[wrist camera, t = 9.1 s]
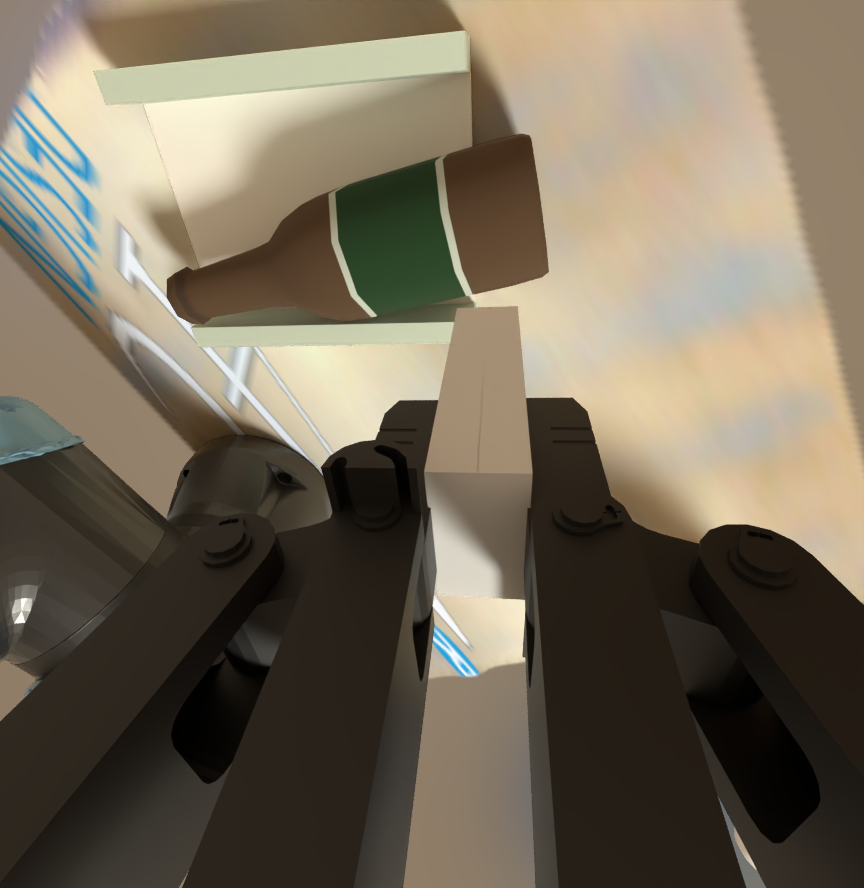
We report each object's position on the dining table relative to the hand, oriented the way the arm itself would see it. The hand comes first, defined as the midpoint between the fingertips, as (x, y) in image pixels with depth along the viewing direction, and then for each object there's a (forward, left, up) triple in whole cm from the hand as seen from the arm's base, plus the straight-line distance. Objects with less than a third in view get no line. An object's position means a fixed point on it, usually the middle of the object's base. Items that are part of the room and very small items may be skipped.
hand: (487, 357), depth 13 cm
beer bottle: (+2, 0, -18) cm, 19 cm away
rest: (-12, 0, -23) cm, 25 cm away
